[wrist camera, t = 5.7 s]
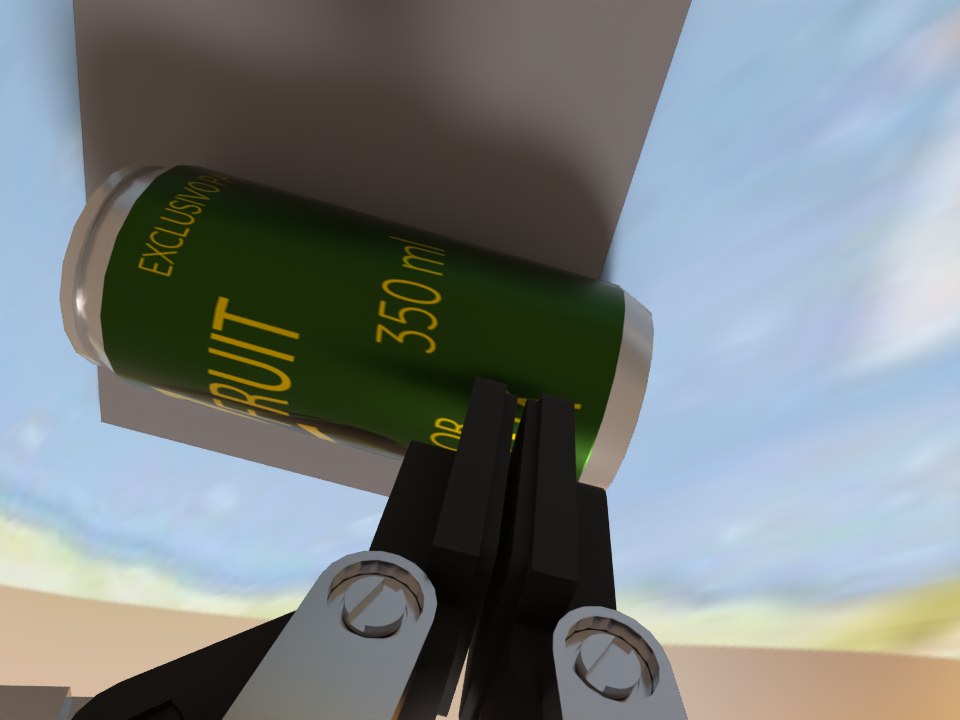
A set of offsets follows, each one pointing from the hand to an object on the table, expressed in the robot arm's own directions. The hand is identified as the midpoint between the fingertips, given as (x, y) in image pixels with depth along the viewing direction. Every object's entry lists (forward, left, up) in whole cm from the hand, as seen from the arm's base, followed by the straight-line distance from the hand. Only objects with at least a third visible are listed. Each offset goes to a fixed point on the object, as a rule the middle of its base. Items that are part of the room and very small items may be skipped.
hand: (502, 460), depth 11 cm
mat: (+5, 0, -8) cm, 9 cm away
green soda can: (-3, +1, -5) cm, 6 cm away
